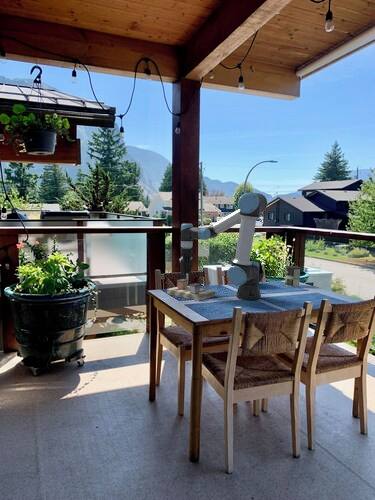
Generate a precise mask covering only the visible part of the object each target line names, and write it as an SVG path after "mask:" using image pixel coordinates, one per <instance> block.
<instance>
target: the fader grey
mask: <svg viewBox="0 0 375 500" xmlns="http://www.w3.org/2000/svg"><path fill="white" fill-rule="evenodd" d="M188 286H190V293H193V294H197V293H200V288H201V284H200V283H196V282H195V283H190V284H189V285H188Z"/></svg>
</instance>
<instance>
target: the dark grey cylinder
mask: <svg viewBox="0 0 375 500" xmlns="http://www.w3.org/2000/svg"><path fill="white" fill-rule="evenodd" d="M250 261H253V262H258V263H259V267H260V268H259V283H260V282H261V281H262V280H263V277H264V275H265V272H264V270H263V265H262V263H261V262H259V261H258V260H253V259H252V258H250Z"/></svg>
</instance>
